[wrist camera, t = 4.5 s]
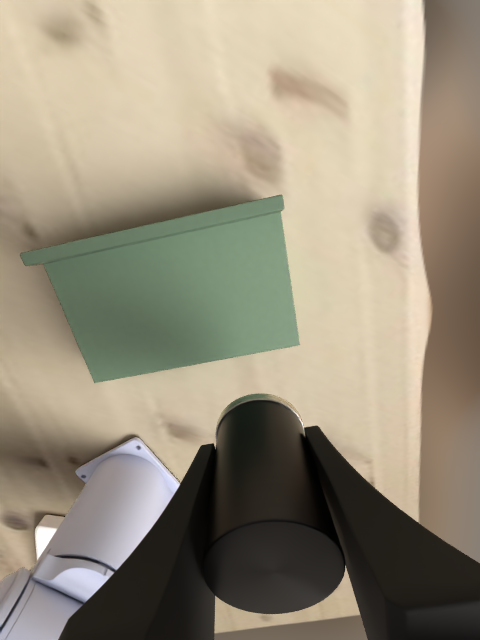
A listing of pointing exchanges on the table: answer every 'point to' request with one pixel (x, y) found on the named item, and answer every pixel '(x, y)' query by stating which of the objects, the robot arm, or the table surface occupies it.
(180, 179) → the table surface
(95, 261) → the shelf
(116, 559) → the robot arm
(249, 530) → the cylinder
